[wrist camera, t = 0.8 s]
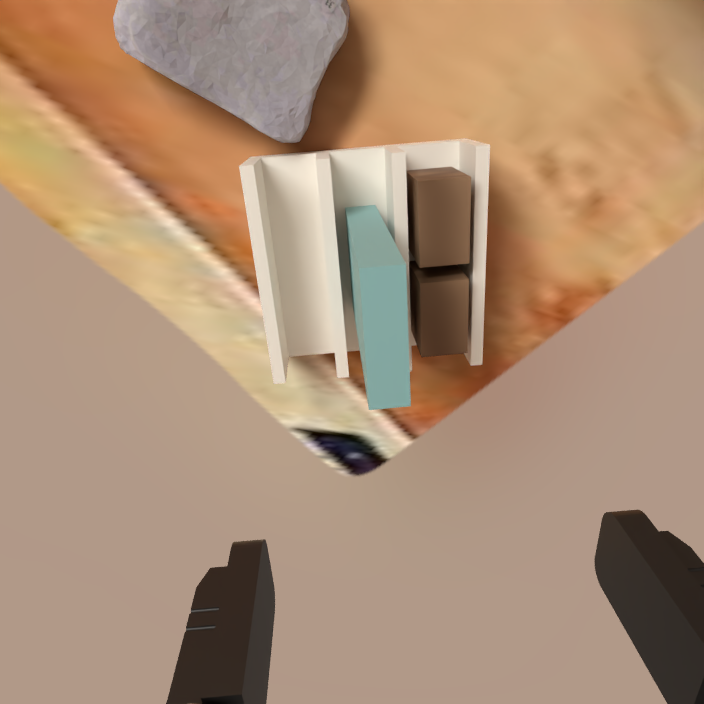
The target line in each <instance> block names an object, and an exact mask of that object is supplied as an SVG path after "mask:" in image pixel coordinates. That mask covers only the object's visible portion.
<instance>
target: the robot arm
mask: <svg viewBox="0 0 704 704" xmlns="http://www.w3.org/2000/svg"><path fill="white" fill-rule="evenodd" d="M595 570H596V575H597V578H598V581H599V583H600V586H601V588H602V590H603V591H604V593H605V595H606V596H607V598H608V600H609V602H610V603H611V605H612V607H613V609H614V610H615V612H616V614H617V616H618V617H619V619H620V621H621V623H622V624H623V626H624V628H625V630H626V631H627V633H628V635H629V637H630V639H631V640H632V642H633V644H634V646H635V647H636V649H637V651H638V653H639V654H640V656H641V658H642V660H643V661H644V663H645V665H646V667H647V668H648V670H649V672H650V674H651V676H652V677H653V679H654V681H655V682H656V684H657V686H658V688H659V690H660V691H661V693H662V695H663V697H664V698H665V700H666V702H667V704H704V563H703V562H702V561H701V559H700V558H699V557H698V556H697V555H696V553H695V552H694V551H693V550H692V548H691V547H690V546H688V545H687V544H685V543H684V542H683V541H681V540H680V539H678V538H677V537H676V536H674V535H673V534H671V533H670V532H669V531H660V532H659V531H658V530H657V529H656V528H655V526H654V525H653V524H652V522H651V521H650V520H649V519H648V517H647V516H646V515H645V514H644V513H643V512H642V511H640V510H629V511H617V512H606V513H605V514H604V515H603V518H602V523H601V528H600V534H599V539H598V544H597V550H596V555H595ZM274 614H275V591H274V583H273V577H272V571H271V565H270V560H269V554H268V548H267V544H266V540H253V541H241V542H234V543H233V544H232V547H231V551H230V556H229V562H228V566H227V567H215V568H210V569H209V571H208V572H207V574H206V575H205V576H204V578H203V579H202V580H201V582H200V583H199V585H198V586H197V588H196V591H195V595H194V599H193V603H192V607H191V614H189V618H188V622H187V626H186V632H185V634H184V638H183V642H182V645H181V650H180V653H179V657H178V661H177V665H176V669H175V673H174V677H173V681H172V684H171V688H170V692H169V696H168V700H167V703H166V704H266V700H267V689H268V678H269V668H270V657H271V646H272V636H273V624H274Z"/></svg>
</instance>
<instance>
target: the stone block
mask: <svg viewBox="0 0 704 704" xmlns="http://www.w3.org/2000/svg"><path fill="white" fill-rule="evenodd" d="M349 16H350V9H349V5H348V3H347V0H118V3H117V6H116V10H115V14H114V17H113V22H114V29H115V35H116V38H117V41H118V42H119V44H120V48H121V49H122V50H124V51H125V52H126V53H127V54H129V55H131V56H133V57H134V58H136V59H138V60H139V61H141V62H142V63H144V64H145V65H147V66H149V67H150V68H152V69H154V70H155V71H157V72H159V73H160V74H162V75H164V76H166V77H167V78H169V79H171V80H173V81H174V82H176V83H178V84H180V85H181V86H183V87H185V88H187V89H189V90H190V91H192V92H194V93H196V94H198V95H200V96H201V97H203V98H205V99H207V100H209V101H211V102H213V103H215V104H216V105H218V106H220V107H221V108H223V109H225V110H226V111H228V112H230V113H231V114H233V115H235V116H236V117H238V118H240V119H242V120H243V121H245V122H247V123H248V124H250V125H251V126H252V127H254V128H255V129H257V130H258V131H260V132H262V133H264V134H266V135H267V136H269V137H271V138H273V139H275V140H277V141H279V142H282V143H284V142H286V143H296V142H300V140H301V139H302V137H303V135H304V134H305V132H306V131H307V129H308V126H309V123H310V119H311V111H312V106H313V101H314V99H315V97H316V91H317V89H318V87H319V85H320V82H321V80H322V78H323V76H324V74H325V71H326V69H327V66H328V64H329V62H330V61H331V60H332V58H333V57H334V56H335V54H336V53H337V51H338V50H339V48H340V47H341V45H342V44H343V42H344V41H345V39H346V36H347V33H348V21H349Z"/></svg>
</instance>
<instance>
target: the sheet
mask: <svg viewBox="0 0 704 704" xmlns="http://www.w3.org/2000/svg"><path fill="white" fill-rule="evenodd" d="M345 213H346V226H347V239H348V251H349V264H350V276H351V289H352V301H353V310H354V317H355V323H356V329H357V336H358V342H359V349H360V355H361V361H362V368H363V374H364V380H365V387H366V393H367V400H368V406H369V410H374V409H385V408H395V407H406V406H411V400H410V369H409V337H408V306H407V275H406V263H405V261H404V259H403V257H402V255H401V253H400V252H399V250H398V248H397V246H396V244H395V242H394V240H393V238H392V236H391V234H390V232H389V230H388V228H387V227H386V225H385V223H384V221H383V219H382V217H381V215H380V213H379V211H378V209H377V207H376V205H368V206H357V207H345Z"/></svg>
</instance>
